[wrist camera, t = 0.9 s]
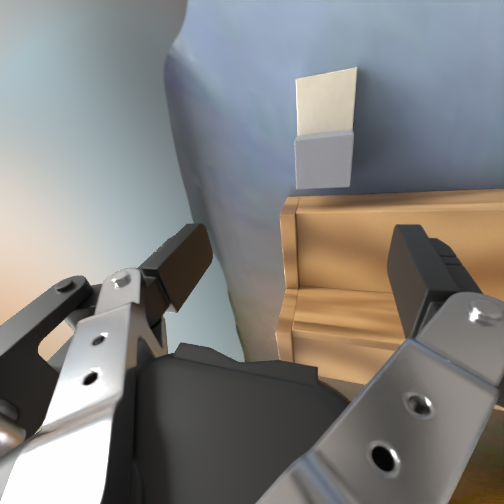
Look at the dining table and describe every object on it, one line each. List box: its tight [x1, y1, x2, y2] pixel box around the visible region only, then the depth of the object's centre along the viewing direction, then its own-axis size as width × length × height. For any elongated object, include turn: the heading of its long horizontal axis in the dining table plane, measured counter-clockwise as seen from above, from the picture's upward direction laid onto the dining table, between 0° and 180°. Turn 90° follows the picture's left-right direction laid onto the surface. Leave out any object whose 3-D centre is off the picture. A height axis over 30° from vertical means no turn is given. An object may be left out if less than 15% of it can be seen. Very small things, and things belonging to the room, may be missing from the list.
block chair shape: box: [294, 67, 357, 189], centre depth 19 cm, size 8×4×4 cm, turn 9°
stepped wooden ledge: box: [276, 189, 504, 411], centre depth 22 cm, size 16×23×11 cm
